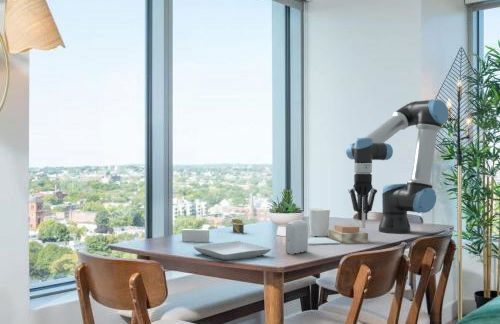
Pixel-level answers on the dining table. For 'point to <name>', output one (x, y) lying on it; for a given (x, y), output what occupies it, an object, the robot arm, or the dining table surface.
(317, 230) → the candle holder
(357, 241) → the birch board
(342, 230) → the terracotta tile
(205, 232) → the napkin holder
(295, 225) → the white upright block
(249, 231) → the dining table surface
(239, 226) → the brown and yellow container
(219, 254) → the salad plate
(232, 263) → the dining table surface
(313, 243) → the rubber mat
